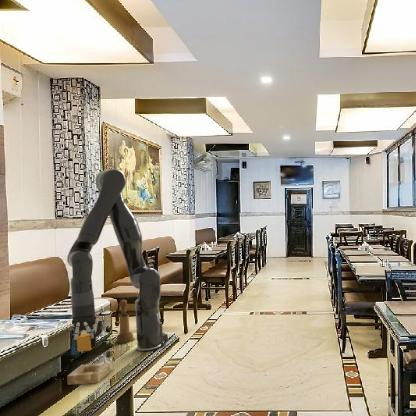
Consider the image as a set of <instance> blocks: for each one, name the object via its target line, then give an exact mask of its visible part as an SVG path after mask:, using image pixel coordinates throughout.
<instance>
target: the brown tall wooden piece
mask: <svg viewBox="0 0 416 416" xmlns="http://www.w3.org/2000/svg"><path fill="white" fill-rule="evenodd" d="M127 305H128V301H127V300H126V299H121V300H120V301H119V306H120V307H121V310H120V313H121V314H120V315H119V316H118V320H119V334H118V335H117V336H116V342H117V344H118V343H119V344H126V343H130V342H132V341H133V340H134V334H133V333H132V332H130V315H129V314H128V313H127V309H126V307H127Z"/></svg>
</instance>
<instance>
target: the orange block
mask: <svg viewBox="0 0 416 416" xmlns="http://www.w3.org/2000/svg"><path fill="white" fill-rule="evenodd" d="M76 339H77V348H76V350H77V352H89V351H91V350H92V349H93V348H91V337H90V335H89V333H81V335H80V336H79V337H77V338H76Z"/></svg>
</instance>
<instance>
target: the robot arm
mask: <svg viewBox="0 0 416 416" xmlns="http://www.w3.org/2000/svg"><path fill="white" fill-rule="evenodd" d="M126 184H127V178H126V175H125V174H124V172H122V171H121V170H119V169H114V168H111V169H105V170H101V171H100V172H98V173H97V174H96V176H95V186H96V189H97V190H98V192H99V195H98V197H97V200H96V201H95V203H94V204H93V207H92V208H91V210H90V211H89V212H88V214H87V215H86V217H85V219H84V220H83V223H82V225H81V227H80V229H79V232H78V236H77V238H76V239H75V240H74V242H73V244H72V246H71V247H70V249H69V251H68V253H67V258H66V261H67V264H68V265H69V266H70V267H71V268H72V269H71V270H72V271H71V272H72V273H71V274H72V277H71V278H70V305H71V316H72V320H71V321H72V324H73V326H74V327H75V328H74V327H71V330H70V338H69V339H72V340H73V339H74V346H75V348H76V349H77V339H76V338H77V337H79V336H80V335H82V332H83V331H87V334H89V335H90V337H91V348H92V349H95V348H96V346H97V345H98V340H97V337H99V336H100V335H102V334H103V333H102V332H103V328H104V324H105V319H104V318H101V319H98V318H97V317H96V307H95V295H94V290H93V279H92V275H93V266H94V262H93V261H94V260H93V256H92V254H91V251H92V249H93V247H94V246H95V245H97V243H98V241H99V240H100V237H101V235H102V232H103V230H104V226H105V224H106V222H107V220H108V217H109V219H110V223H111V225H112V229H113V232H114V234H115V237H116V239H117V242H118V244H119V247H120V250H121V253H122V255H123V258H124V261H125V264H126V268H127V272H128V277H129V280H130V283H131V286H133V287H134V288H135V289H137V290H138V293H139V295H138V298H137V299H136V300H135V302H134V306H135V326H136V328H135V329H136V341H137V342H136V346H137V348H136V350H138V351H139V352H149V351H154V350H157V349H159V348H161V347H163V346H164V344H166V343H167V342H168V340H169V337H168V336H169V335H168V333H164V332H163V323H162V322H161V313H160V300H161V295H162V292H161V290H162V289H161V288H162V286H161V283H162V282H161V275H160V273H159V271H158V270H157V269H155V268H153V267H148V266H147V264H146V261H145V259H144V255H143V235H142V234H143V233H142V231H141V228H140V225H139V223H138V220H137V219H136V217H135V215H134V214H133V212H132V210H131V209H130V208H129V206H128V205H127V203H126V201H125V199H124V196H123V193H122V192H123V191H124V188H125V187H126ZM95 324H96V327H95ZM74 329H75V330H74Z"/></svg>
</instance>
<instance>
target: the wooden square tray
mask: <svg viewBox="0 0 416 416" xmlns="http://www.w3.org/2000/svg"><path fill="white" fill-rule="evenodd" d="M110 372H111V362H102V363H101V362H100V363H87V364H86V363H85V364H80V365H79V366H78V367H77V368H76V369H74V370H73V371H71V372H70V373H69V374H67V376H66V378H67V379H66V380H67V381H66V382H67V385H68V386H69V385H87V384H99V383H100V382H101V381H102V380H103V379H104V378H105V377H106V376H107V375H108V374H110Z"/></svg>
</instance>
